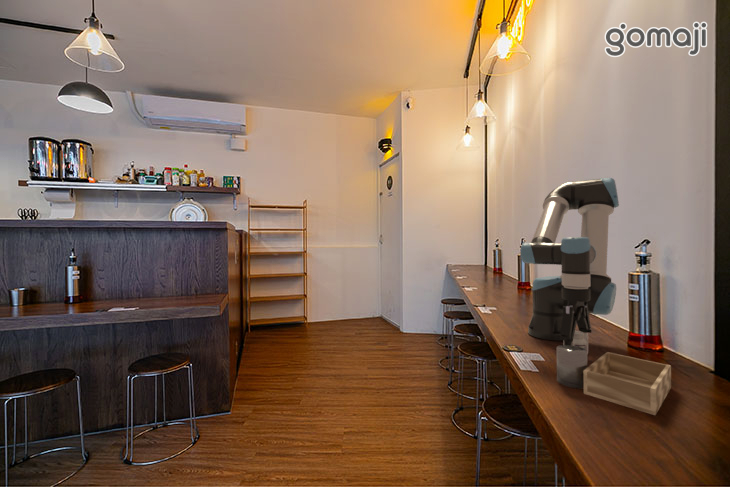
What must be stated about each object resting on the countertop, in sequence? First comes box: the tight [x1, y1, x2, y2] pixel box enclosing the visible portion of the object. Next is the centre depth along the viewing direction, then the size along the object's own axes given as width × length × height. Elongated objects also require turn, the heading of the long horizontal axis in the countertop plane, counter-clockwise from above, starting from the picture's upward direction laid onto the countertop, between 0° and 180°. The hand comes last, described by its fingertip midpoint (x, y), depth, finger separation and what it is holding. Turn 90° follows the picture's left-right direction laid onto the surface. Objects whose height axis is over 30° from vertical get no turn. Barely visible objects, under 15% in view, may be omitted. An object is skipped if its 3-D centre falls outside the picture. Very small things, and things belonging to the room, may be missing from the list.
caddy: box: [583, 351, 672, 416], centre depth 83 cm, size 20×14×6 cm
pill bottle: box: [573, 330, 587, 350], centre depth 102 cm, size 5×5×10 cm
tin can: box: [556, 344, 588, 389], centre depth 88 cm, size 7×7×9 cm
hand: (576, 357), depth 102 cm, fingers open, 11 cm apart
